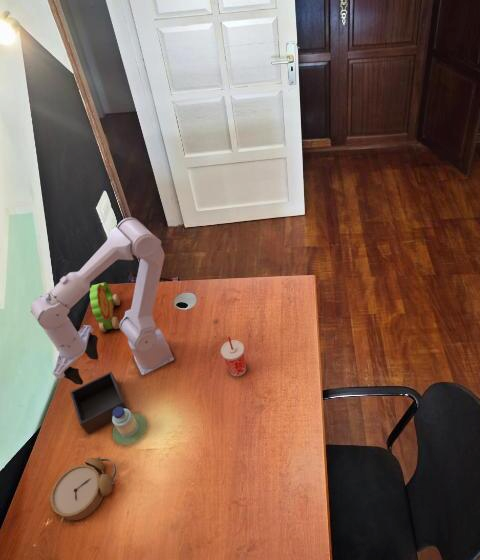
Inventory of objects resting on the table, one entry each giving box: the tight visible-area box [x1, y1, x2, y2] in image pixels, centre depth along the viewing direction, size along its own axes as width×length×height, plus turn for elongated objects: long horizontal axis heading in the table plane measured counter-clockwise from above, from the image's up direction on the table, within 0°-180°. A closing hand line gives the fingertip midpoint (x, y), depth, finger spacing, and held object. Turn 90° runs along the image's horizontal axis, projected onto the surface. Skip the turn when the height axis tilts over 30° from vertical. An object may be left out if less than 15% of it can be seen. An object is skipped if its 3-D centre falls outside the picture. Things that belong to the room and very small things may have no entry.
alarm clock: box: [48, 456, 118, 524], centre depth 110 cm, size 11×5×15 cm
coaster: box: [112, 412, 148, 446], centre depth 121 cm, size 9×9×1 cm
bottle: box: [111, 407, 139, 437], centre depth 118 cm, size 5×5×9 cm
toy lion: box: [89, 282, 121, 333], centre depth 143 cm, size 16×5×15 cm, turn 12°
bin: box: [69, 371, 130, 435], centre depth 124 cm, size 11×11×5 cm
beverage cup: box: [220, 336, 247, 377], centre depth 126 cm, size 6×6×14 cm
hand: (86, 370), depth 122 cm, fingers open, 7 cm apart
